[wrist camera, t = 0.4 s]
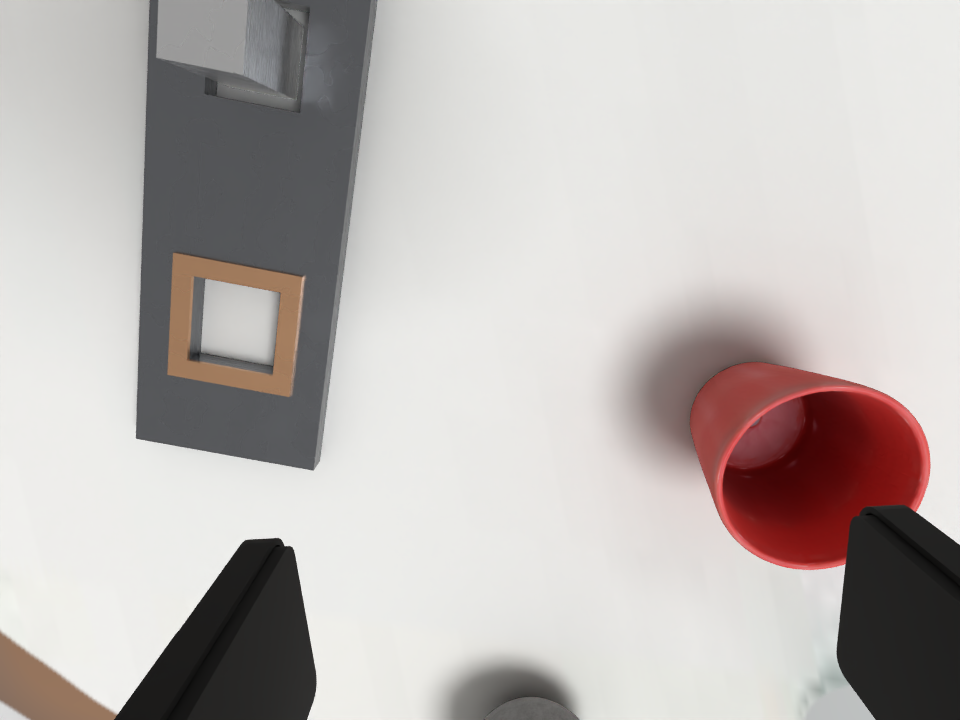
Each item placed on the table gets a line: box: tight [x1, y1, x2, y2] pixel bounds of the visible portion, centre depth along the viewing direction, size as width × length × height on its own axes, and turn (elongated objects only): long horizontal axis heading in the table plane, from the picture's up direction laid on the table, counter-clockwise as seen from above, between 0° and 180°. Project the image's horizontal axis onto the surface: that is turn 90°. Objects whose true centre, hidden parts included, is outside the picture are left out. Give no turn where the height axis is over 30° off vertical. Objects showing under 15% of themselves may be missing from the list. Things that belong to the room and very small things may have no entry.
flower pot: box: [690, 362, 930, 570], centre depth 35 cm, size 11×11×10 cm
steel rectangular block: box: [156, 0, 304, 101], centre depth 31 cm, size 4×4×8 cm
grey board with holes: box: [136, 0, 377, 470], centre depth 36 cm, size 34×12×2 cm, turn 169°
